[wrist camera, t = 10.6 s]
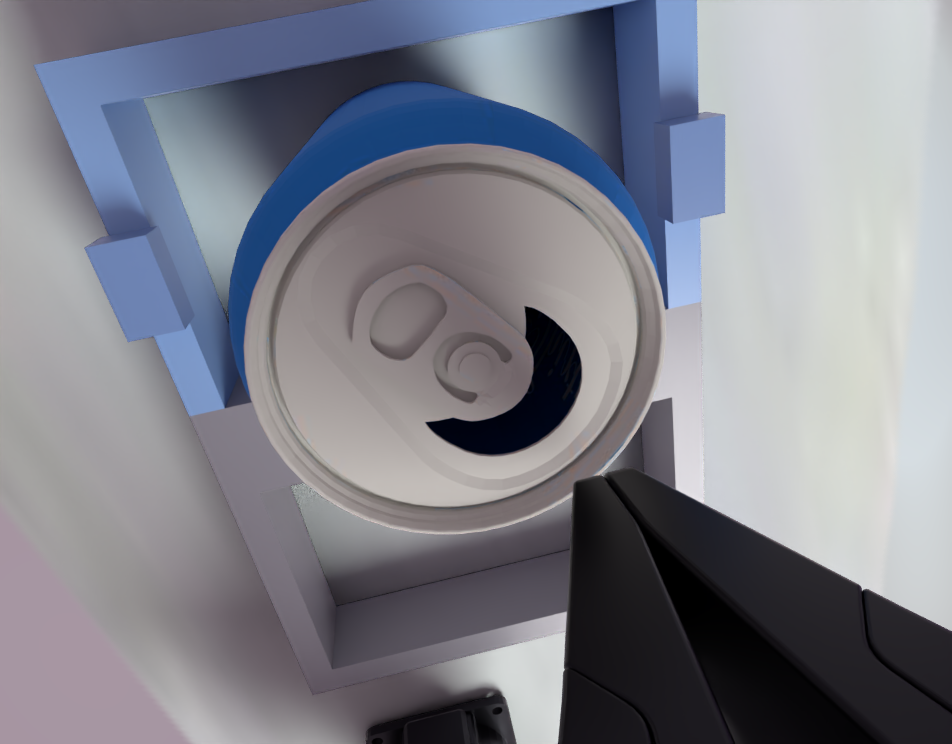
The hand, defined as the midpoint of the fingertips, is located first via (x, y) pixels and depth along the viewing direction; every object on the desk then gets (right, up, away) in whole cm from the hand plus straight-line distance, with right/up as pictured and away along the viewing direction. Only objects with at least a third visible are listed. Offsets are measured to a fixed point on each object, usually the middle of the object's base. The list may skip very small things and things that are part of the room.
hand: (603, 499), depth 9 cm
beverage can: (-4, +7, +11) cm, 13 cm away
